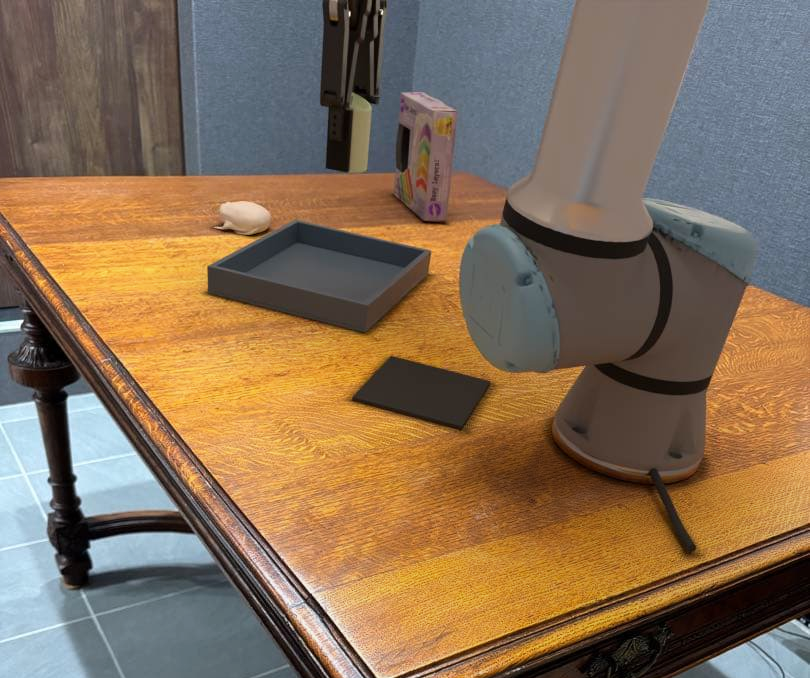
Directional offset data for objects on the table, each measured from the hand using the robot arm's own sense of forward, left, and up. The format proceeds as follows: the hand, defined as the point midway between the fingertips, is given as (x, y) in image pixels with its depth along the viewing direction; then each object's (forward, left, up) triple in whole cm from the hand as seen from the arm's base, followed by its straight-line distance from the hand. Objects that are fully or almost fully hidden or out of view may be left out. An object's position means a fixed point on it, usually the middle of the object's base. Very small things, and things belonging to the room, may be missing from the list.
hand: (346, 165), depth 98 cm
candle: (0, 0, 0) cm, 0 cm away
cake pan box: (+49, +5, -16) cm, 52 cm away
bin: (+3, +3, -16) cm, 17 cm away
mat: (-21, -19, -16) cm, 32 cm away
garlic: (+17, +23, -16) cm, 33 cm away
